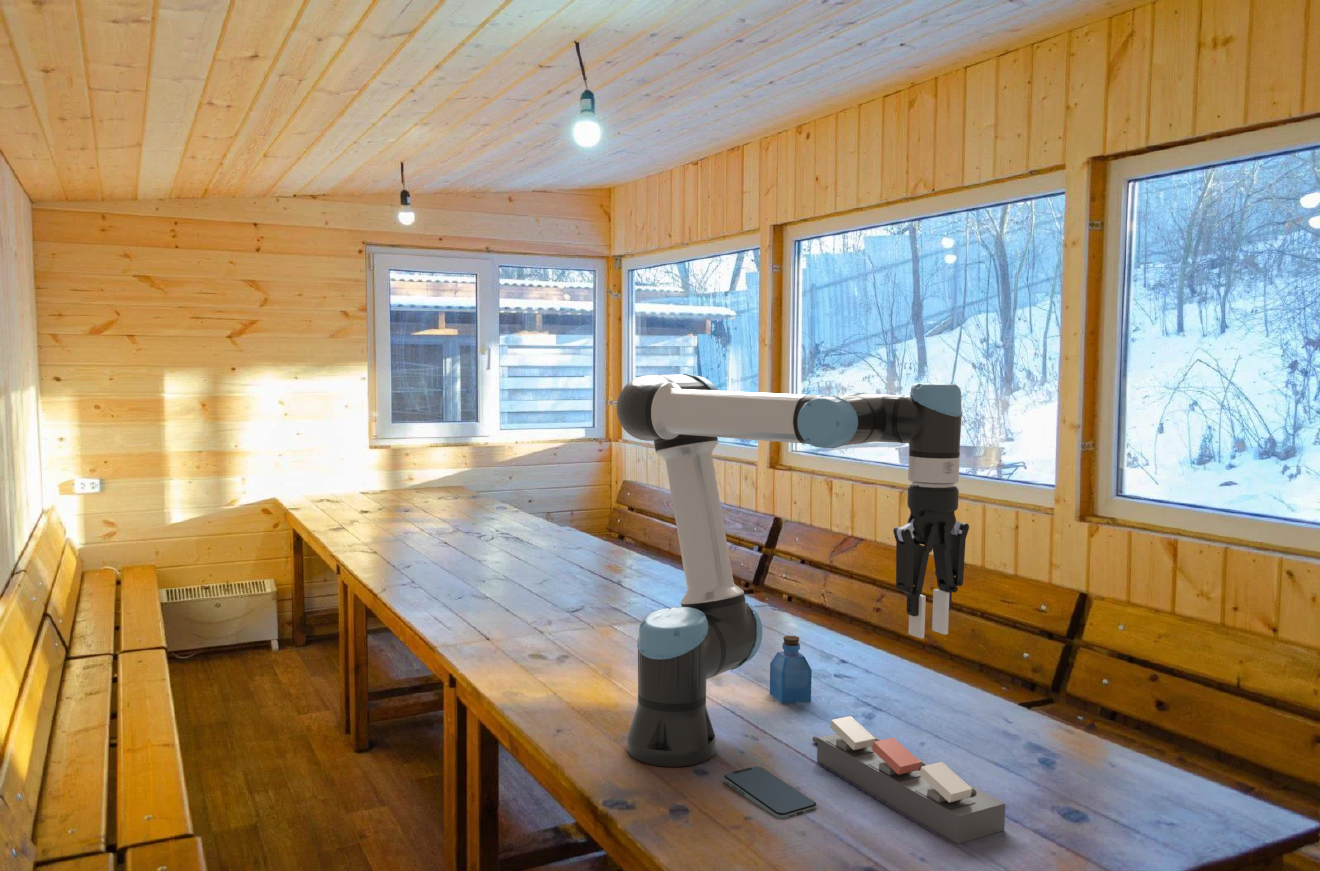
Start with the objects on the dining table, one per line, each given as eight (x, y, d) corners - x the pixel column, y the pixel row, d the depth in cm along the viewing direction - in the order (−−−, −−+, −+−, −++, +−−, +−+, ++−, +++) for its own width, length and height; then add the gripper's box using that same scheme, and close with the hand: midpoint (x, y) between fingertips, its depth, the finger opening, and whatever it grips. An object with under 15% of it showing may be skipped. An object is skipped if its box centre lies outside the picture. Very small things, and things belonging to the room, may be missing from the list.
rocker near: (970, 796, 143) (972, 788, 142) (949, 802, 141) (951, 794, 140) (939, 769, 148) (941, 761, 148) (919, 774, 146) (921, 766, 146)
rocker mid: (918, 769, 152) (920, 761, 151) (898, 774, 150) (900, 766, 150) (891, 745, 157) (893, 737, 157) (871, 749, 155) (873, 741, 155)
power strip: (1004, 830, 143) (1005, 796, 142) (957, 844, 139) (958, 809, 138) (833, 737, 177) (834, 709, 177) (792, 746, 173) (792, 718, 172)
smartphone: (779, 814, 145) (721, 773, 158) (779, 825, 146) (720, 784, 158) (820, 803, 149) (759, 764, 162) (819, 813, 149) (759, 773, 162)
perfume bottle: (781, 703, 194) (782, 643, 193) (769, 693, 200) (770, 634, 199) (810, 701, 196) (812, 640, 195) (798, 690, 202) (799, 632, 201)
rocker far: (873, 745, 161) (875, 738, 161) (853, 750, 159) (855, 742, 159) (849, 723, 166) (850, 715, 166) (829, 727, 165) (831, 719, 164)
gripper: (907, 489, 146) (902, 647, 147) (992, 484, 154) (987, 633, 155) (873, 483, 152) (868, 634, 154) (957, 478, 160) (951, 621, 162)
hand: (928, 633), depth 155 cm, fingers open, 4 cm apart
